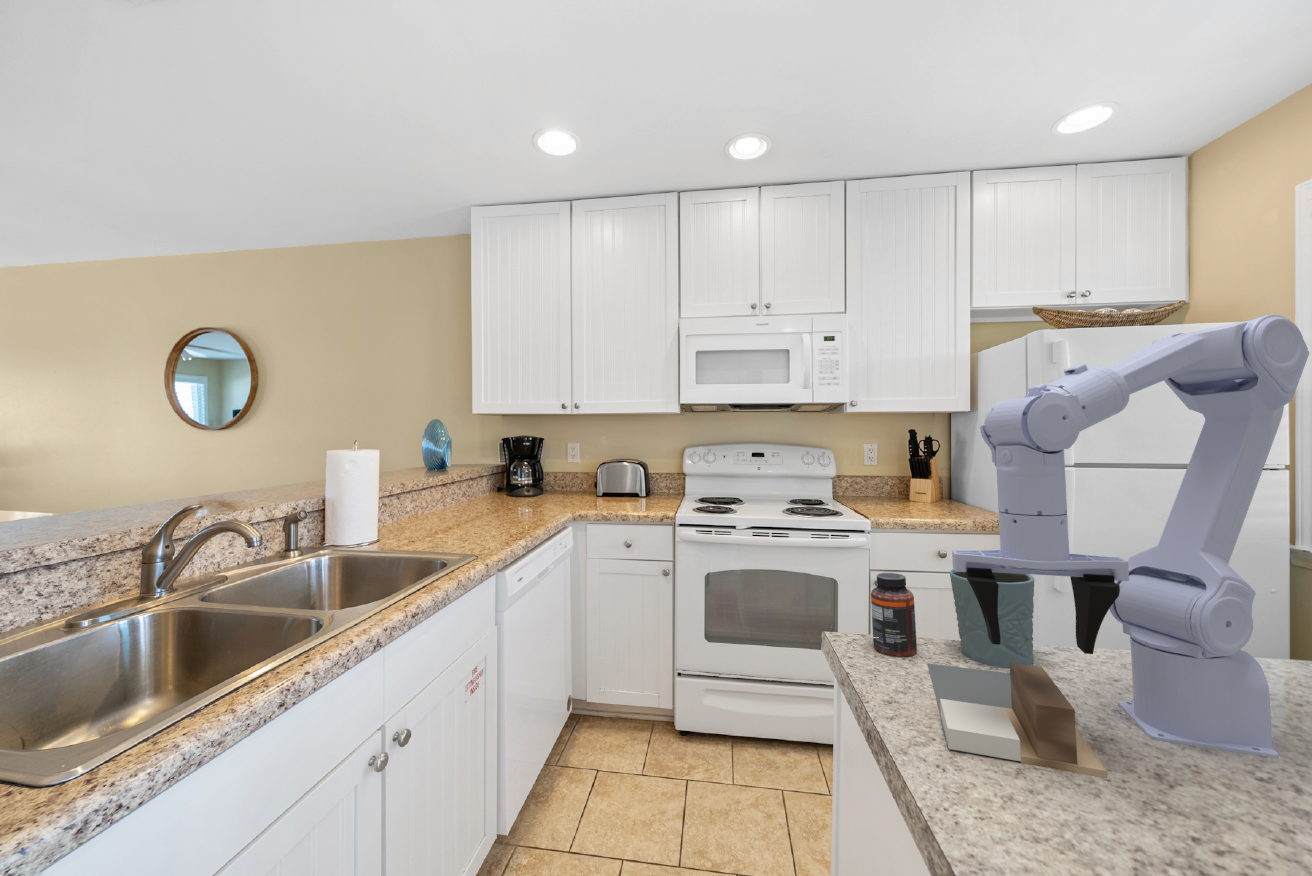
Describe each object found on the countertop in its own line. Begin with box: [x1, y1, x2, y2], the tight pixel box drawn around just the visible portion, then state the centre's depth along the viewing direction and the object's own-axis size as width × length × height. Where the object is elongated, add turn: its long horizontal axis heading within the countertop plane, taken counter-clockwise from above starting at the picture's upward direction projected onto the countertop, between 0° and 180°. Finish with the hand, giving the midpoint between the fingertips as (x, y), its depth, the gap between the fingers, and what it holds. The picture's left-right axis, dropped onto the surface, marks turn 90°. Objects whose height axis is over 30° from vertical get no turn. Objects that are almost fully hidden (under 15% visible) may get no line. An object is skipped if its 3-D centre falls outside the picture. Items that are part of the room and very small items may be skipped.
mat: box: [926, 663, 1012, 746], centre depth 59 cm, size 12×21×1 cm, turn 157°
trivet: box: [1002, 707, 1108, 779], centre depth 52 cm, size 6×10×1 cm, turn 157°
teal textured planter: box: [949, 568, 1035, 669], centre depth 73 cm, size 10×10×12 cm
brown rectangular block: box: [1009, 663, 1077, 764], centre depth 52 cm, size 3×10×5 cm, turn 157°
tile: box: [940, 699, 1021, 762], centre depth 53 cm, size 6×2×6 cm
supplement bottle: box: [870, 572, 918, 658], centre depth 77 cm, size 6×6×11 cm
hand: (1038, 645), depth 52 cm, fingers open, 7 cm apart
